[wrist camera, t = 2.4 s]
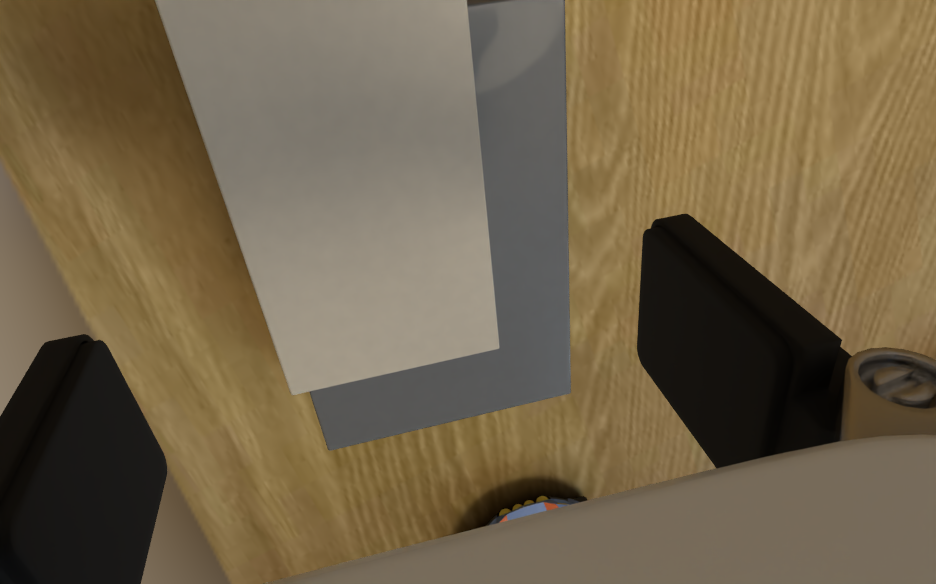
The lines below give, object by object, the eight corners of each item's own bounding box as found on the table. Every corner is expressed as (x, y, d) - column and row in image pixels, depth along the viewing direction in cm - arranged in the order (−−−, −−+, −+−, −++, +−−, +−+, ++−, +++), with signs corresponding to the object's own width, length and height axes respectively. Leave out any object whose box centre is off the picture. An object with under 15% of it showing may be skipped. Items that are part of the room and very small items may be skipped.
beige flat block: (157, -65, 14) (134, -58, 12) (437, -100, 15) (457, -99, 13) (291, 348, 21) (291, 396, 19) (481, 307, 22) (500, 349, 20)
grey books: (201, 3, 19) (178, 30, 15) (520, -42, 20) (568, -28, 17) (317, 378, 27) (320, 453, 24) (538, 329, 29) (573, 393, 25)
